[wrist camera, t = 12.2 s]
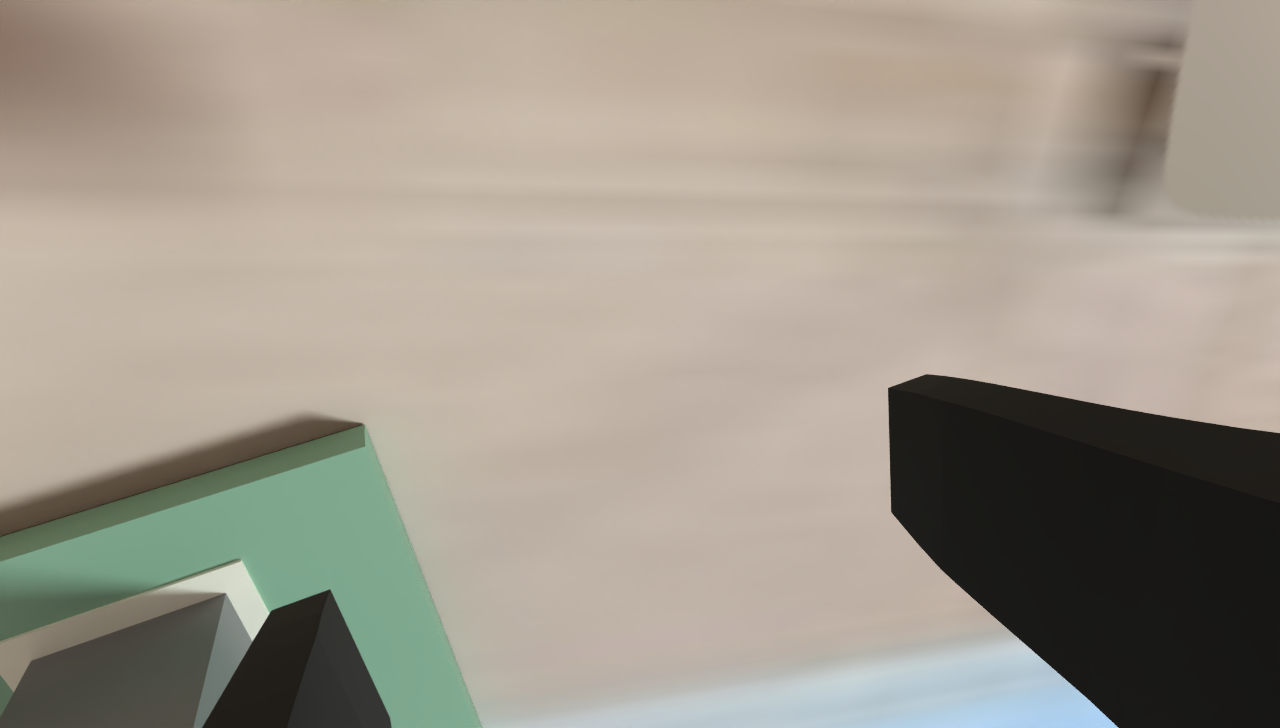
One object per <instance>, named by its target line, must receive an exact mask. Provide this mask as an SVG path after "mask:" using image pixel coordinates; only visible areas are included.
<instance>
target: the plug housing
mask: <svg viewBox="0 0 1280 728" xmlns="http://www.w3.org/2000/svg"><path fill="white" fill-rule="evenodd" d="M251 643H252V640H251V638H250V636H249V634H248V632H247V631H246V629H245V627H244V625H243V623H242V621H241V620H240V618H239V616H238V614H237V612H236V610H235V609H234V607H233V605H232V603H231V601H230V599H229V598H228V596H227V594H226V593H225V594H222V595H219V596H216V597H213V598H210V599H207V600H204V601H202V602H199V603H196V604H193V605H190V606H187V607H184V608H182V609H179V610H176V611H173V612H170V613H167V614H164V615H161V616H159V617H156V618H153V619H150V620H147V621H144V622H141V623H138V624H136V625H133V626H130V627H127V628H124V629H121V630H118V631H116V632H113V633H110V634H107V635H104V636H101V637H98V638H95V639H93V640H90V641H87V642H84V643H81V644H78V645H75V646H72V647H70V648H67V649H64V650H61V651H58V652H55V653H52V654H50V655H47V656H44V657H41V658H38V659H35V660H32V661H31V662H30V664H29V665H28V667H27V669H26V671H25V673H24V675H23V676H22V678H21V680H20V682H19V684H18V686H17V687H16V689H15V691H14V693H13V695H12V697H11V698H10V700H9V702H8V704H7V706H6V708H5V709H4V711H3V713H2V715H1V717H0V728H202V727H203V725H204V723H205V722H206V720H207V718H208V717H209V715H210V713H211V711H212V710H213V708H214V706H215V705H216V703H217V701H218V700H219V698H220V696H221V694H222V693H223V691H224V689H225V688H226V686H227V684H228V683H229V681H230V679H231V677H232V676H233V674H234V672H235V671H236V669H237V667H238V665H239V664H240V662H241V660H242V659H243V657H244V655H245V654H246V652H247V650H248V648H249V647H250V645H251Z"/></svg>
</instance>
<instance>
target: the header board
mask: <svg viewBox="0 0 1280 728" xmlns="http://www.w3.org/2000/svg"><path fill="white" fill-rule="evenodd" d="M329 589H330V590H331V592H332V594H333V596H334V598H335V600H336V603H337V605H338V607H339V609H340V611H341V613H342V616H343V618H344V620H345V622H346V624H347V626H348V628H349V631H350V633H351V635H352V637H353V639H354V641H355V643H356V646H357V648H358V650H359V652H360V654H361V656H362V659H363V661H364V663H365V665H366V667H367V669H368V671H369V674H370V676H371V678H372V680H373V682H374V684H375V686H376V689H377V691H378V693H379V695H380V697H381V699H382V701H383V704H384V706H385V708H386V710H387V712H388V714H389V717H390V720H391V727H392V728H482V726H481V724H480V721H479V719H478V716H477V714H476V711H475V708H474V706H473V703H472V701H471V698H470V695H469V693H468V690H467V688H466V685H465V683H464V680H463V677H462V675H461V672H460V670H459V667H458V665H457V662H456V659H455V657H454V654H453V652H452V649H451V646H450V644H449V641H448V639H447V636H446V634H445V631H444V628H443V626H442V623H441V621H440V618H439V615H438V613H437V610H436V608H435V605H434V603H433V600H432V597H431V595H430V592H429V590H428V587H427V585H426V582H425V579H424V577H423V574H422V572H421V569H420V566H419V564H418V561H417V559H416V556H415V554H414V551H413V548H412V546H411V543H410V541H409V538H408V535H407V533H406V530H405V528H404V525H403V523H402V520H401V517H400V515H399V512H398V510H397V507H396V504H395V502H394V499H393V497H392V494H391V492H390V489H389V486H388V484H387V481H386V479H385V476H384V474H383V471H382V468H381V466H380V463H379V461H378V458H377V455H376V453H375V450H374V448H373V445H372V443H371V440H370V437H369V435H368V432H367V430H366V427H365V424H364V425H361V426H358V427H355V428H351V429H348V430H345V431H342V432H338V433H335V434H332V435H329V436H325V437H322V438H319V439H316V440H312V441H309V442H306V443H303V444H300V445H296V446H293V447H290V448H287V449H283V450H280V451H277V452H274V453H270V454H267V455H264V456H261V457H257V458H254V459H251V460H248V461H244V462H241V463H238V464H235V465H231V466H228V467H225V468H222V469H219V470H215V471H212V472H209V473H206V474H202V475H199V476H196V477H193V478H189V479H186V480H183V481H180V482H176V483H173V484H170V485H167V486H163V487H160V488H157V489H154V490H150V491H147V492H144V493H141V494H138V495H134V496H131V497H128V498H125V499H121V500H118V501H115V502H112V503H108V504H105V505H102V506H99V507H95V508H92V509H89V510H86V511H82V512H79V513H76V514H73V515H70V516H66V517H63V518H60V519H57V520H53V521H50V522H47V523H44V524H40V525H37V526H34V527H31V528H27V529H24V530H21V531H18V532H14V533H11V534H8V535H5V536H1V537H0V717H1V715H2V713H3V711H4V709H5V708H6V706H7V704H8V702H9V700H10V698H11V697H12V695H13V693H14V691H15V689H16V687H17V686H18V684H19V682H20V680H21V678H22V676H23V675H24V673H25V671H26V669H27V667H28V665H29V664H30V662H31V661H32V660H35V659H38V658H41V657H44V656H47V655H50V654H52V653H55V652H58V651H61V650H64V649H67V648H70V647H72V646H75V645H78V644H81V643H84V642H87V641H90V640H93V639H95V638H98V637H101V636H104V635H107V634H110V633H113V632H116V631H118V630H121V629H124V628H127V627H130V626H133V625H136V624H138V623H141V622H144V621H147V620H150V619H153V618H156V617H159V616H161V615H164V614H167V613H170V612H173V611H176V610H179V609H182V608H184V607H187V606H190V605H193V604H196V603H199V602H202V601H204V600H207V599H210V598H213V597H216V596H219V595H222V594H225V593H226V594H227V596H228V598H229V599H230V601H231V603H232V605H233V607H234V609H235V610H236V612H237V614H238V616H239V618H240V620H241V621H242V623H243V625H244V627H245V629H246V631H247V632H248V634H249V636H250V638H251V640H252V642H253V640H254V638H255V637H256V635H257V633H258V632H259V630H260V628H261V627H262V625H263V623H264V622H265V620H266V619H267V617H268V615H269V614H270V612H271V610H274V609H276V608H279V607H282V606H285V605H288V604H290V603H293V602H296V601H299V600H301V599H304V598H307V597H310V596H312V595H315V594H318V593H321V592H324V591H326V590H329Z"/></svg>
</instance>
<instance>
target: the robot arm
mask: <svg viewBox="0 0 1280 728" xmlns="http://www.w3.org/2000/svg"><path fill="white" fill-rule="evenodd" d="M888 401H889V439H890V478H891V512H892V514H893V515H894V516H895V517H896V518H897V519H898V521H899V522H900V523H901V524H902V525H903V527H904V528H905V529H906V530H907V531H908V533H909V534H910V535H911V536H912V537H913V539H914V540H915V541H916V542H917V543H918V544H919V546H920V547H921V548H922V549H923V550H924V551H925V552H926V553H927V554H928V555H929V557H930V558H931V559H932V560H933V561H934V562H935V563H936V564H937V565H938V566H939V568H940V569H941V570H942V571H943V572H945V573H946V574H947V575H948V576H949V577H950V578H951V579H952V580H953V581H954V582H955V583H957V584H958V585H959V586H960V587H961V588H962V589H963V590H964V591H965V592H967V593H968V594H969V595H970V596H971V597H972V598H973V599H974V600H976V601H977V602H978V603H979V604H980V605H981V606H982V607H983V608H985V609H986V610H987V611H988V612H989V613H990V614H991V615H992V616H994V617H995V618H996V619H997V620H998V621H999V622H1001V623H1002V624H1003V625H1004V626H1005V627H1006V628H1007V629H1009V630H1010V631H1011V632H1012V633H1013V634H1014V635H1015V636H1017V637H1018V638H1019V639H1020V640H1021V641H1022V642H1023V643H1025V644H1026V645H1027V646H1028V647H1029V648H1030V649H1031V650H1033V651H1034V652H1035V653H1036V654H1037V655H1038V656H1040V657H1041V658H1042V659H1043V660H1044V661H1045V662H1046V663H1048V664H1049V665H1050V666H1051V667H1052V668H1053V669H1054V670H1056V671H1057V672H1058V673H1059V674H1060V675H1061V676H1062V677H1064V678H1065V679H1066V680H1067V681H1068V682H1069V683H1070V684H1072V685H1073V686H1074V687H1075V688H1076V689H1077V690H1078V691H1080V692H1081V693H1082V694H1083V695H1084V696H1085V697H1086V698H1088V699H1089V700H1090V701H1091V702H1092V703H1093V704H1094V705H1095V706H1096V707H1097V708H1098V709H1099V710H1100V711H1101V712H1102V713H1104V714H1105V715H1106V716H1107V717H1108V718H1109V719H1110V720H1111V721H1112V722H1113V723H1114V724H1115V725H1116V726H1117V727H1118V728H1280V433H1274V432H1266V431H1258V430H1251V429H1243V428H1236V427H1230V426H1223V425H1217V424H1211V423H1204V422H1198V421H1191V420H1185V419H1179V418H1172V417H1166V416H1160V415H1155V414H1149V413H1143V412H1138V411H1132V410H1127V409H1121V408H1116V407H1110V406H1105V405H1100V404H1095V403H1089V402H1084V401H1079V400H1074V399H1069V398H1064V397H1059V396H1053V395H1048V394H1043V393H1038V392H1033V391H1028V390H1023V389H1018V388H1012V387H1007V386H1002V385H997V384H991V383H985V382H980V381H974V380H968V379H961V378H955V377H947V376H938V375H927V374H926V375H923V376H920V377H918V378H915V379H912V380H909V381H907V382H904V383H901V384H898V385H895V386H893V387H890V388H888ZM202 728H392V727H391V720H390V717H389V714H388V712H387V710H386V708H385V706H384V704H383V701H382V699H381V697H380V695H379V693H378V691H377V689H376V686H375V684H374V682H373V680H372V678H371V676H370V674H369V671H368V669H367V667H366V665H365V663H364V661H363V659H362V656H361V654H360V652H359V650H358V648H357V646H356V643H355V641H354V639H353V637H352V635H351V633H350V631H349V628H348V626H347V624H346V622H345V620H344V618H343V616H342V613H341V611H340V609H339V607H338V605H337V603H336V600H335V598H334V596H333V594H332V592H331V590H330V589H329V590H326V591H324V592H321V593H318V594H315V595H312V596H310V597H307V598H304V599H301V600H299V601H296V602H293V603H290V604H288V605H285V606H282V607H279V608H276V609H274V610H271V612H270V614H269V615H268V617H267V619H266V620H265V622H264V623H263V625H262V627H261V628H260V630H259V632H258V633H257V635H256V637H255V638H254V640H253V642H252V643H251V645H250V647H249V648H248V650H247V652H246V654H245V655H244V657H243V659H242V660H241V662H240V664H239V665H238V667H237V669H236V671H235V672H234V674H233V676H232V677H231V679H230V681H229V683H228V684H227V686H226V688H225V689H224V691H223V693H222V694H221V696H220V698H219V700H218V701H217V703H216V705H215V706H214V708H213V710H212V711H211V713H210V715H209V717H208V718H207V720H206V722H205V723H204V725H203V727H202Z"/></svg>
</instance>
